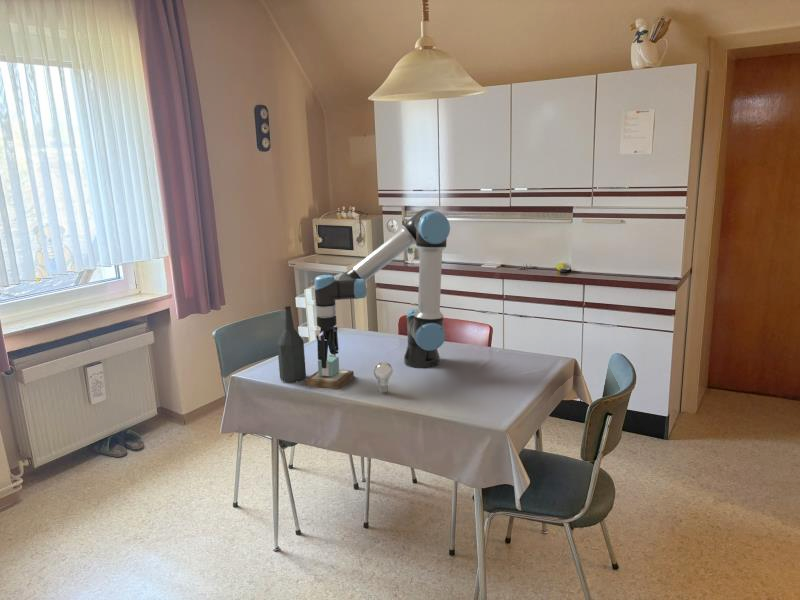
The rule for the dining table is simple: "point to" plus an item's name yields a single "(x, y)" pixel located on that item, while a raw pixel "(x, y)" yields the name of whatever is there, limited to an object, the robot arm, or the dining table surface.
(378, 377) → the light bulb
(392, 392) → the dining table surface
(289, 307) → the bottle
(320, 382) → the picture frame
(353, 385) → the dining table surface
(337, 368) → the cube
